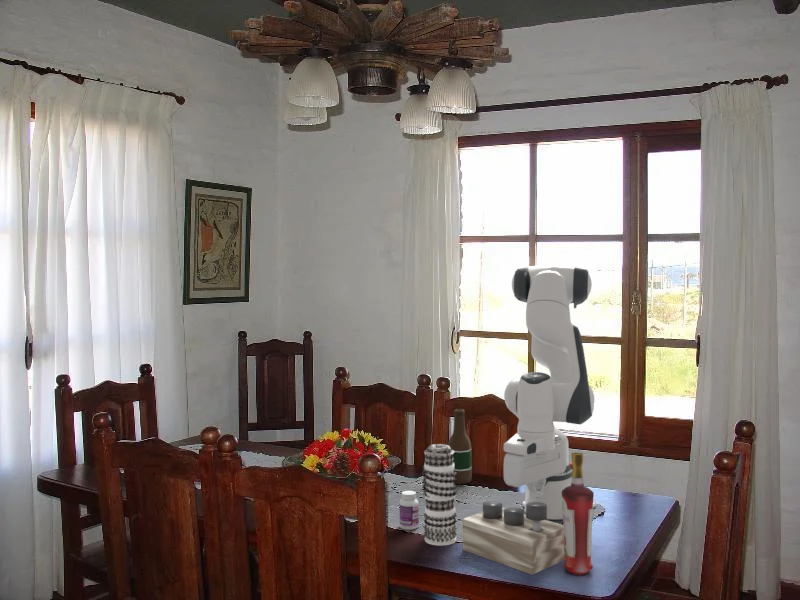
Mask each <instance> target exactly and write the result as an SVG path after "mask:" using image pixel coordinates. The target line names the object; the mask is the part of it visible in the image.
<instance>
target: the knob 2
mask: <svg viewBox="0 0 800 600" xmlns="http://www.w3.org/2000/svg"><path fill="white" fill-rule="evenodd" d="M505 508H506V509H504V523H505V524H507V525H510V526H520V525H523V524H524V514H525V511H524V509H523V508H520V507H514V506H512V507H505Z"/></svg>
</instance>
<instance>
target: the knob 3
mask: <svg viewBox="0 0 800 600" xmlns="http://www.w3.org/2000/svg"><path fill="white" fill-rule="evenodd" d="M525 514H526V518H527V519H529V520H532V526H533V531H534V532H540V531H541V521H542V520H548V519H547V505H546V504H545V503H542V502H529V503H527V504H526V513H525Z"/></svg>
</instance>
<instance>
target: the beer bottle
mask: <svg viewBox="0 0 800 600" xmlns="http://www.w3.org/2000/svg"><path fill="white" fill-rule="evenodd" d="M465 411H466V410H465V409H463V408H456V409H454V410H453V414H454V417H453V418H454V419H453V432H452V434H451V436H450V437H449V440H448V443H447V445H448V446H450V448H451V449H452V450H454V451H455V453H453V457H454V459H453V462H454V470H453V471H455V472H456V473H457V475H456V476H454V477H455V478H456V479H457V481H456V482H454V483H453V485H465V484H466V485H467V484H469V483H471V481H472V479H473V478H472V476H473V475H472V474H473V472H472V471H473V470H472V469H473V468H472V467H473V465H472V463H473V462H472V460H473V459H472V443H471V439H470V437H469V436H468V434H467V432H466V423H465V422H466V421H465V420H466V419H465V413H466V412H465Z"/></svg>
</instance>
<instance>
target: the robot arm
mask: <svg viewBox="0 0 800 600" xmlns="http://www.w3.org/2000/svg"><path fill="white" fill-rule="evenodd" d="M511 289H512V293H513V295H514V297H515V299H516V300H517V301H519V302H523V303H526V306H525V307H526V309H525V323H526V328H527V331H528V332H529V334H531V350H530V353H531V357H532V358H533V360H534V361H535V362H536V363H537V364H539V365H540V366H542V367H545V368H546V369H548V370H549V373H550V374H549V373H545V372H542V371H541V372H539V371H538V372H537V371H535V372H534V371H533V372H527V373H524V374H522V375H521V376H520V378H515V379H511V380H510V381H509V382H508V383H507V385H506V387H505V390H504V393H503V394H504V395H503V397H504V398H503V399H504V402H505V405H506V408H507V409H508V410H509V411H510V412H512V413H513V415H514V416H516V417H517V418H518V423H517V427H516V428H517V432H515V434H514V435H513V436H512V437H510V438H508V440H507V441H506V442H504V443H503V451H504V452H505V455H504V458H503V481H504V483H505V484H506V485H507V486H509V487H513V488H520V487H522V486H526V487H525V495H524V500H523V501H522V507H524V509H523V510H524V514H526V504H527V503H529V502H542V503H545V504H546V505H547V519H546V520H563V511H562V490H563V489H565V488H566V487H568V486H571V479H572V468H573V466H572V461H571V462H570V463H569V439H568V437H567V435H566V434H565V433H564V432H563V431H562V430H560V429H558V428H557V427H555V424H554V423H555V422H557V423H558V422H559V423H568V424H573V425H583V424H584V423H586V422H588V420H589V419H590V418H592V417H593V413H594V409H595V394H594V391H593V389H592V387H591V386H590V385H589V384H590V383H589V378H588V377H589V375H588V369H587V363H586V357H585V349H584V345H583V340H582V335H581V332H580V329H579V327H578V326H576V325H575V324H573V323H572V322H571V313H570V312H571V311H570V304H573V309H577V306H578V305H580V304H581V305H582V304H583V303H585V301H587V299H589V295H590V293H591V292H592V278H591V275H590V273H589V270H588V269H586V268H585V267H582V266H577V265H575V266H572V265H563V264H551V265H550V264H547V265H533V266H529V265H524V266H519V267H518V268H517V269H516V270H515V271H514V274H513V277H512V280H511ZM594 508H596V502H594V501H593V509H594Z"/></svg>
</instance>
